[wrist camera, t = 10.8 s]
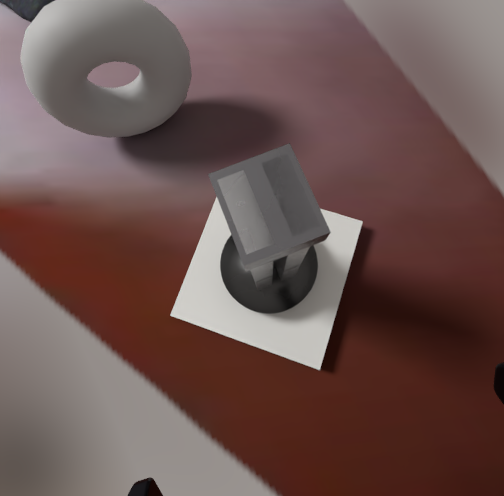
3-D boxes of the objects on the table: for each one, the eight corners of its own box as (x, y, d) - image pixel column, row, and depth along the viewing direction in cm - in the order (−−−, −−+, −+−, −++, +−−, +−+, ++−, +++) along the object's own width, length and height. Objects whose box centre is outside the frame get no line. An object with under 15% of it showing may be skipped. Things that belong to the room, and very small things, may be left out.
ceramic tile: (317, 368, 21) (319, 370, 20) (174, 315, 23) (170, 315, 22) (358, 225, 23) (362, 221, 22) (225, 185, 25) (223, 179, 24)
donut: (196, 83, 27) (155, -55, 17) (210, 119, 26) (174, -5, 16) (78, 125, 26) (-34, 8, 17) (87, 162, 26) (-23, 62, 16)
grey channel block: (293, 211, 23) (318, 91, 11) (329, 293, 21) (401, 255, 10) (211, 243, 23) (148, 154, 11) (242, 328, 21) (208, 331, 10)
